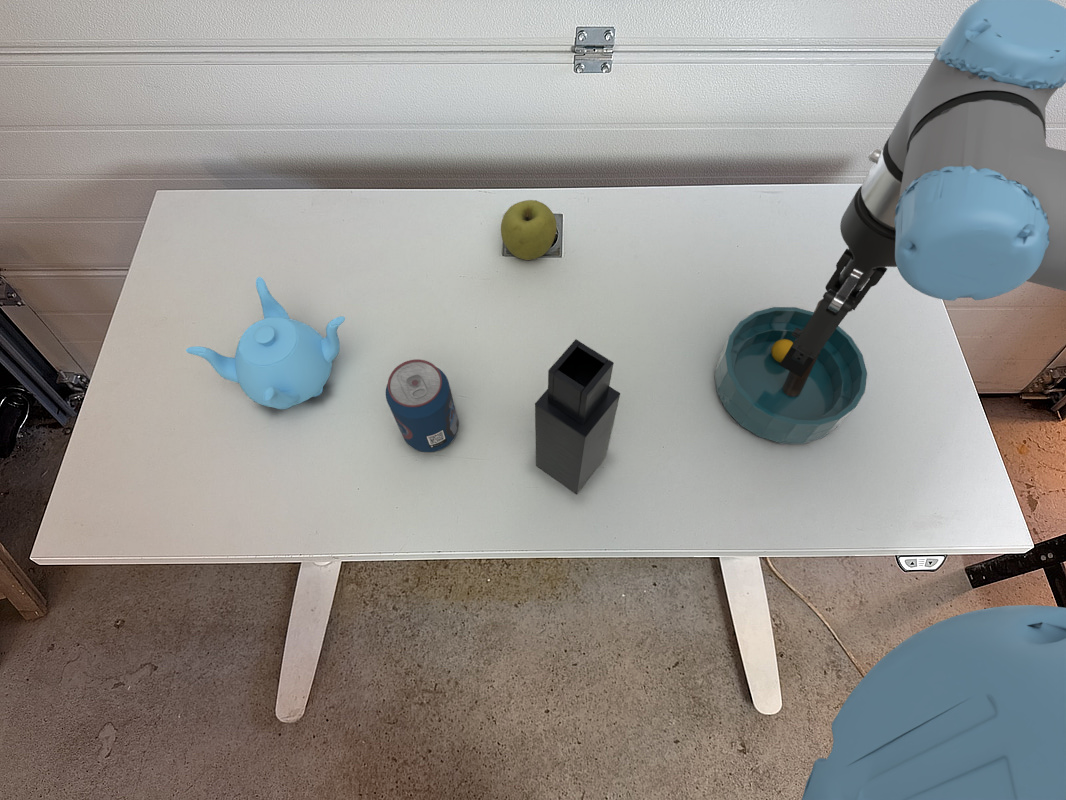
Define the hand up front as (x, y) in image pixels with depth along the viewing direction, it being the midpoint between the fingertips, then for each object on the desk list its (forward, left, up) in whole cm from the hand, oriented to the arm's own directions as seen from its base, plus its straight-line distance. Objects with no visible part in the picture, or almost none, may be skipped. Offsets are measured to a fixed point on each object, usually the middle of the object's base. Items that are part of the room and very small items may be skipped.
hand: (801, 353), depth 73 cm
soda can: (-31, +31, -8) cm, 45 cm away
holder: (-24, +15, -8) cm, 29 cm away
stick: (0, -1, -7) cm, 7 cm away
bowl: (0, 0, -8) cm, 8 cm away
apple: (-1, +39, -8) cm, 40 cm away
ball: (+3, +2, -6) cm, 7 cm away
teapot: (-36, +50, -8) cm, 62 cm away
